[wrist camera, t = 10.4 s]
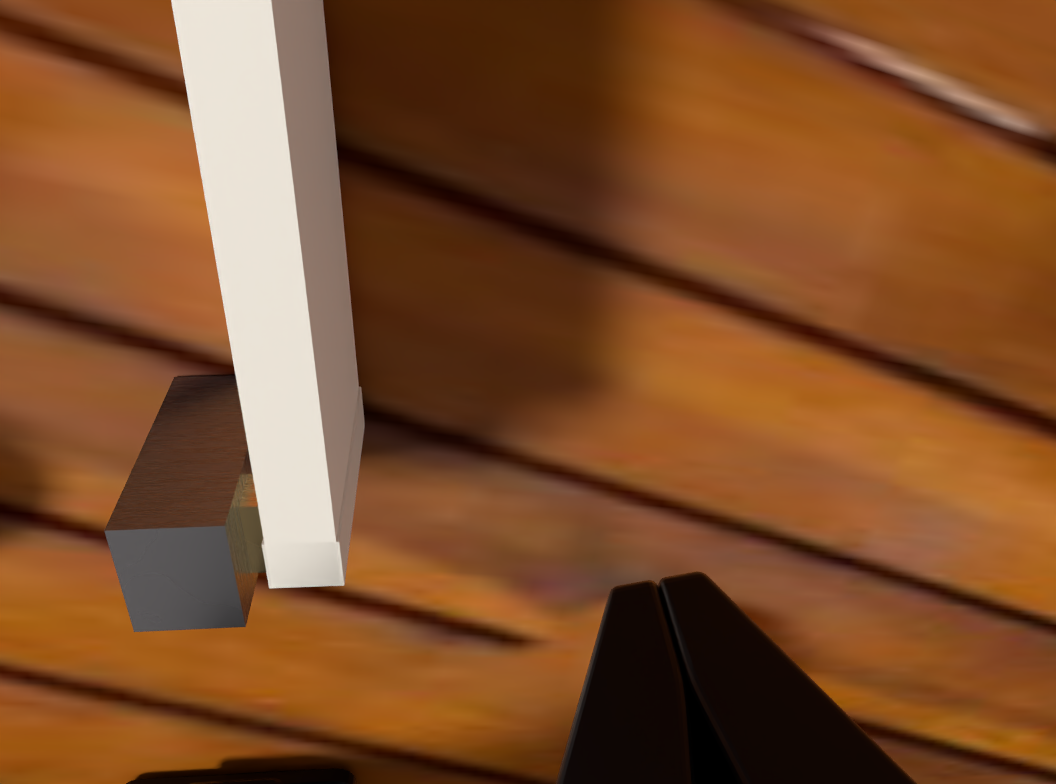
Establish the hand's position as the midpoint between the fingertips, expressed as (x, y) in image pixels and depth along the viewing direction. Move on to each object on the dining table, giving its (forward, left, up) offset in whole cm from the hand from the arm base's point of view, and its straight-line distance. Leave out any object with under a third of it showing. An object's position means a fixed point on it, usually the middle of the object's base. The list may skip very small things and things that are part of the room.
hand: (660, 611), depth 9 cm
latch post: (-6, +7, -12) cm, 15 cm away
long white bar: (0, +5, -12) cm, 12 cm away
